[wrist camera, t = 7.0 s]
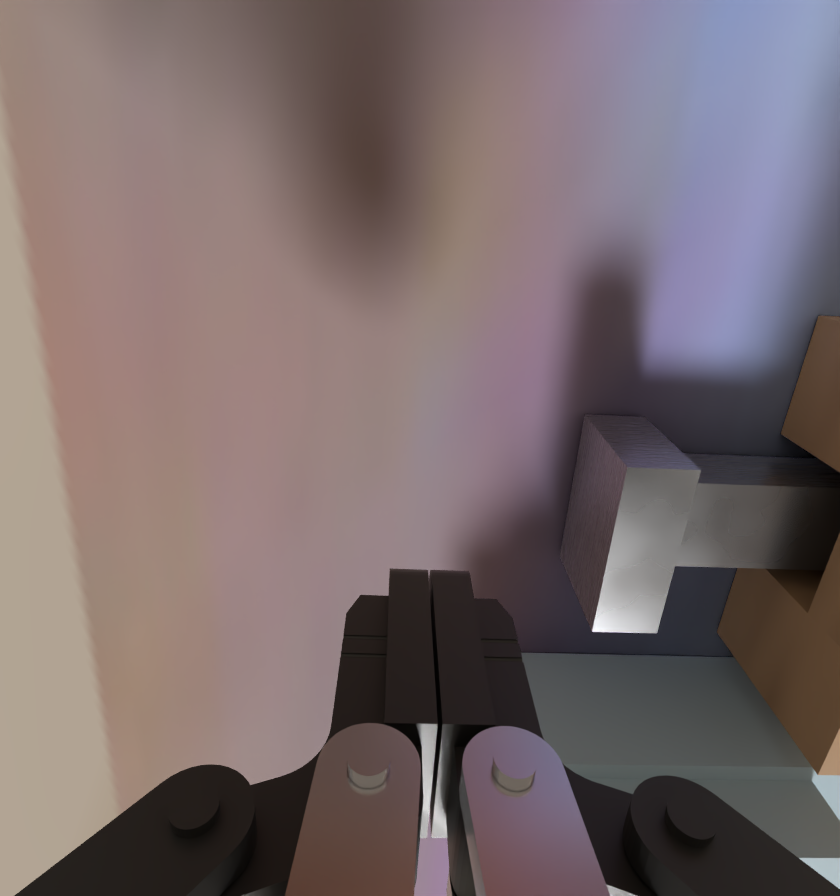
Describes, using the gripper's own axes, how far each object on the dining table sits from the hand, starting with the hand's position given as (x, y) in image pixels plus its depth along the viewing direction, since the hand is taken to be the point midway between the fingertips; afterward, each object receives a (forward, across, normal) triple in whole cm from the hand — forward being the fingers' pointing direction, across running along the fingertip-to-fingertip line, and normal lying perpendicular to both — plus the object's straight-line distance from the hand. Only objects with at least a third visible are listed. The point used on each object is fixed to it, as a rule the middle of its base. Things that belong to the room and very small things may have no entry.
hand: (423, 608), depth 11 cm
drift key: (+6, -10, 0) cm, 11 cm away
